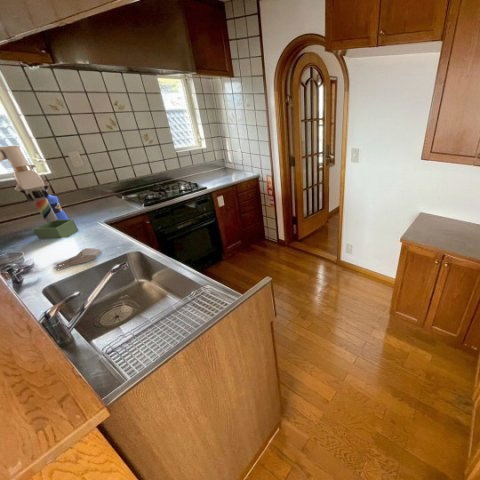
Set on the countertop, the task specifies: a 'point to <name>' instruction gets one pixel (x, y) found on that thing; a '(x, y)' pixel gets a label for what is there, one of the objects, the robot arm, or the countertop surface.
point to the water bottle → (56, 206)
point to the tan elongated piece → (80, 257)
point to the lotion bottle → (44, 206)
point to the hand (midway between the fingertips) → (39, 198)
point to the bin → (56, 229)
